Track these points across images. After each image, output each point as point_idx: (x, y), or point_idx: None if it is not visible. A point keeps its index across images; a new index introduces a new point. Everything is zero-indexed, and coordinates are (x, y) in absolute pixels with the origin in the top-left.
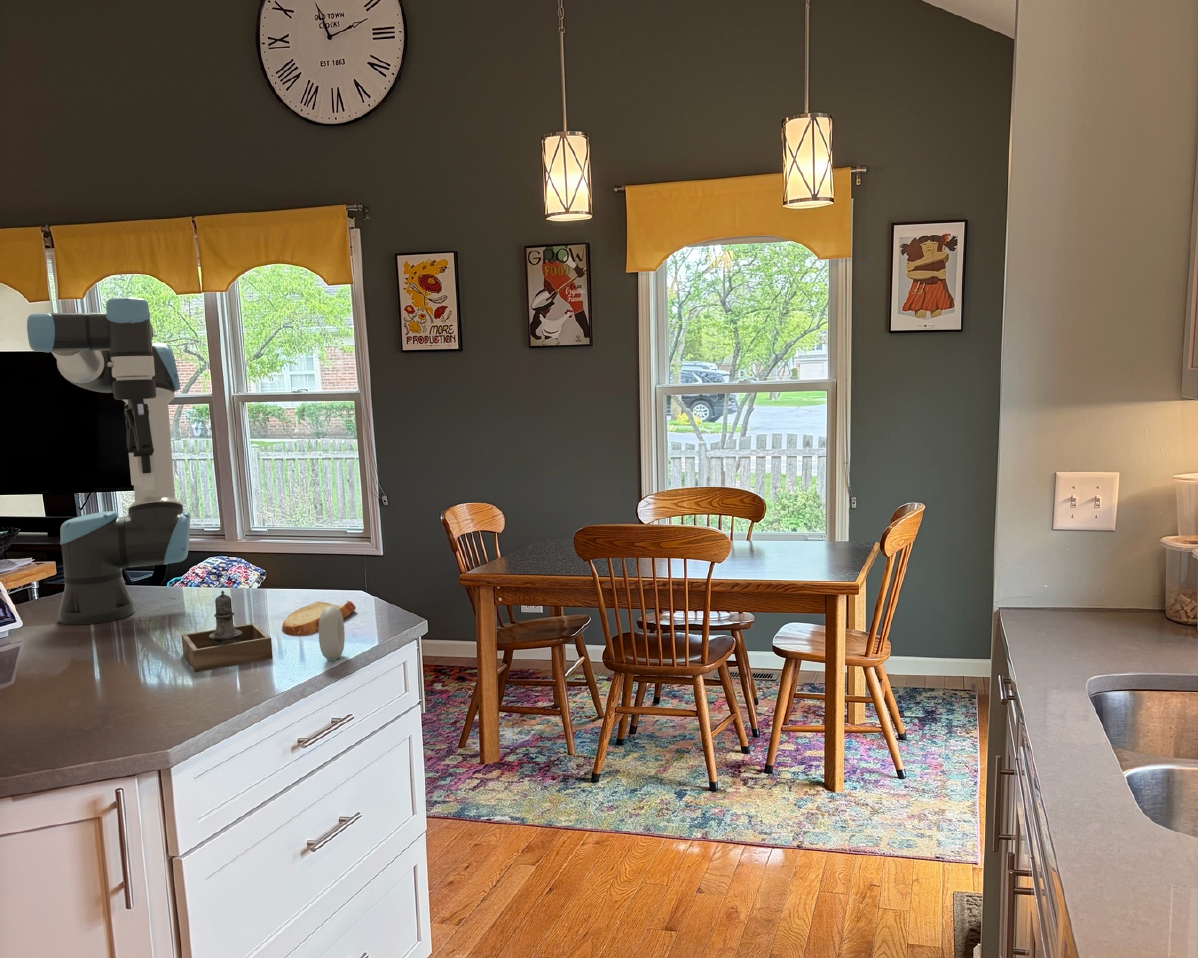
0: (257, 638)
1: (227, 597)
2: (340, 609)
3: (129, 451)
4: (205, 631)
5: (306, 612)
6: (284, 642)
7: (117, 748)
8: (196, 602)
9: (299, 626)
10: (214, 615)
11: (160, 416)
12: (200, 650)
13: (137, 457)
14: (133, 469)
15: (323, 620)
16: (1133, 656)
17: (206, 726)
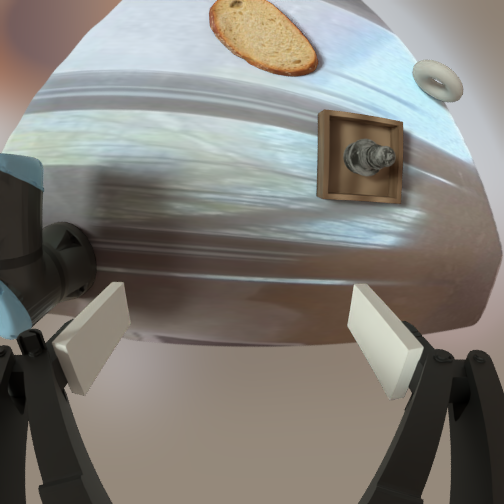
0: (352, 120)
1: (394, 152)
2: (277, 8)
3: (65, 392)
4: (326, 170)
5: (246, 36)
6: (336, 90)
7: (486, 277)
8: (56, 151)
9: (314, 62)
10: (376, 168)
11: None
12: (400, 196)
13: (403, 394)
14: (109, 345)
15: (461, 93)
16: None
17: (492, 227)
